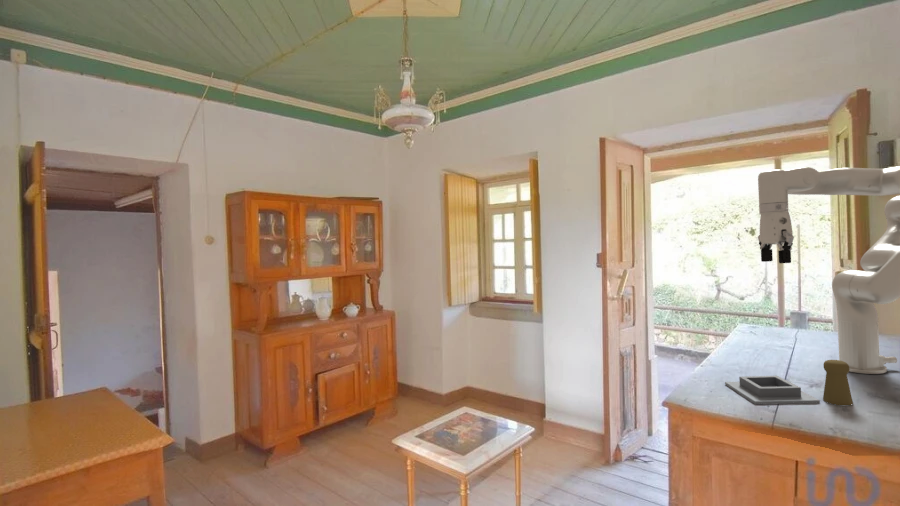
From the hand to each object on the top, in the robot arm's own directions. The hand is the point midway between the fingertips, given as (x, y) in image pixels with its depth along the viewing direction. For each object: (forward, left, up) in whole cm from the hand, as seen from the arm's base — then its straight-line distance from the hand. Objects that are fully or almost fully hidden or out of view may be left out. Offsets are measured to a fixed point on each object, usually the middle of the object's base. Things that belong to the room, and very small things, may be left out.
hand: (775, 262), depth 140 cm
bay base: (+14, +18, -36) cm, 43 cm away
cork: (+1, +25, -36) cm, 44 cm away
